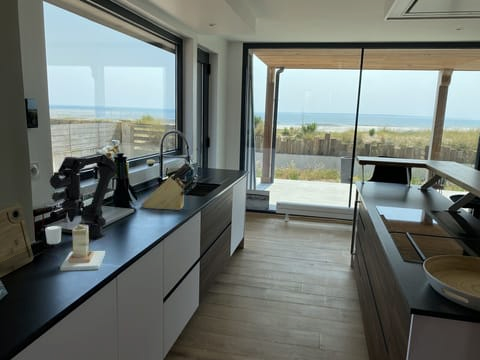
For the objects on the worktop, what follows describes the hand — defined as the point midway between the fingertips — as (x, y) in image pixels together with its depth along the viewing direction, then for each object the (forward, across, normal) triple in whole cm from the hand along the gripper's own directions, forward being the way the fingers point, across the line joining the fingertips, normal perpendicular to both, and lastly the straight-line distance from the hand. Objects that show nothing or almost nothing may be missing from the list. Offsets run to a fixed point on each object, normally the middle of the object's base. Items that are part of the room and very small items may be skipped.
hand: (73, 219), depth 165 cm
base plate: (+13, +18, +6) cm, 24 cm away
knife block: (+11, -66, +46) cm, 81 cm away
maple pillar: (+12, +18, +6) cm, 23 cm away
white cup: (+13, -7, -10) cm, 18 cm away
